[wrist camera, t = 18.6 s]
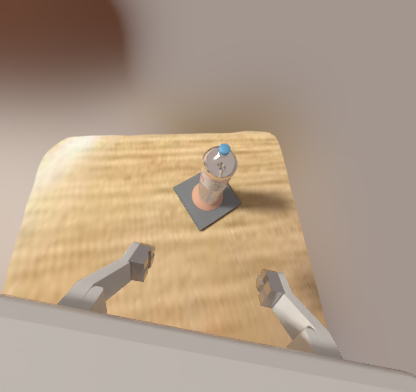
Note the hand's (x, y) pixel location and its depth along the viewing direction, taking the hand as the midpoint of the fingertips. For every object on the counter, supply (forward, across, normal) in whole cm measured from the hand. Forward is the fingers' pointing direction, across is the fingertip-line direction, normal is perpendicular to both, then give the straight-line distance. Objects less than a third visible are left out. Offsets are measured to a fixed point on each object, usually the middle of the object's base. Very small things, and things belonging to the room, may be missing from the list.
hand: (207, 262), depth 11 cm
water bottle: (+35, 0, +12) cm, 37 cm away
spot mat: (+36, 0, +13) cm, 38 cm away
